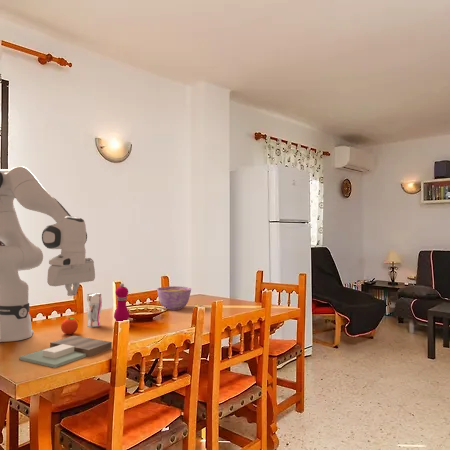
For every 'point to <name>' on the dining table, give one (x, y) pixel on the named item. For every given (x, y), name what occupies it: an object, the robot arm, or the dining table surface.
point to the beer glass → (94, 309)
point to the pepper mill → (121, 304)
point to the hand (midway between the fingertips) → (72, 295)
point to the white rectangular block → (58, 351)
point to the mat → (51, 362)
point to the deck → (84, 345)
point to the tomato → (69, 326)
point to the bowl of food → (173, 296)
